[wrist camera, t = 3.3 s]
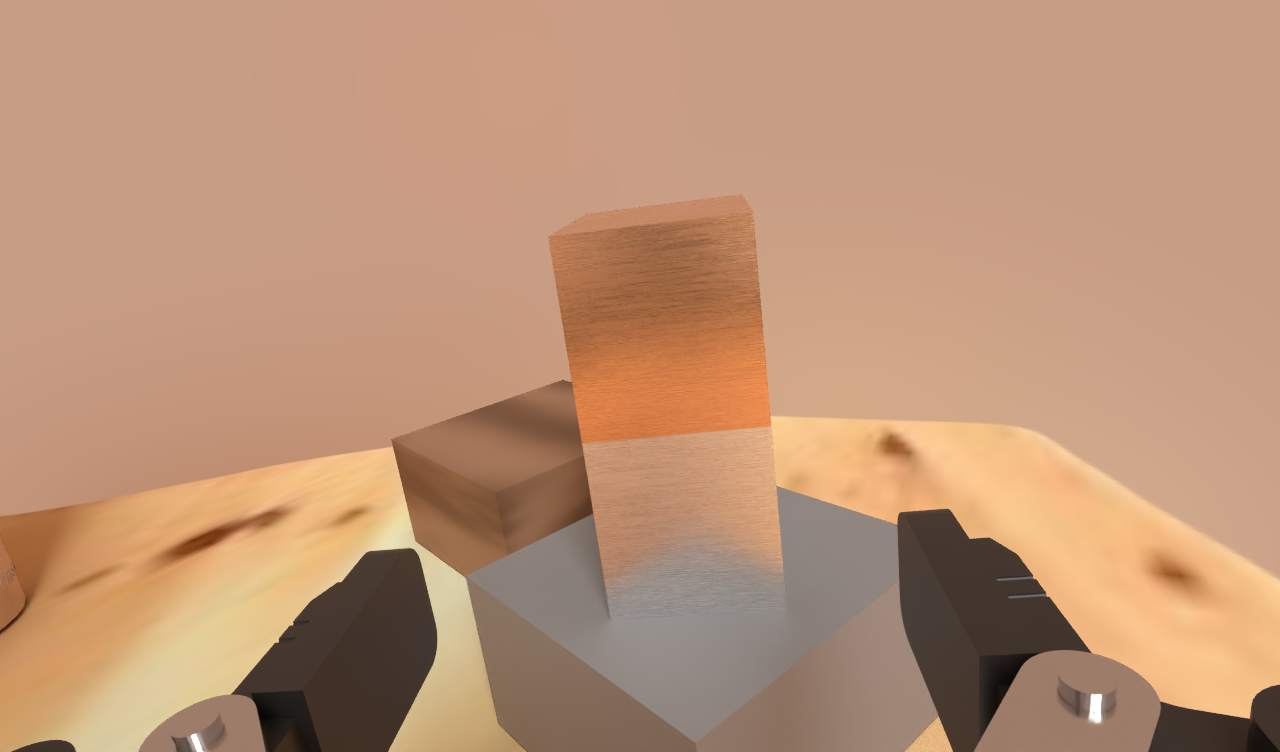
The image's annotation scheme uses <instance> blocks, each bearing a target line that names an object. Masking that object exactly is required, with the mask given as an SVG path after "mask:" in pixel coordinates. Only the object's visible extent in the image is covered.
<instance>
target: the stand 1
mask: <svg viewBox="0 0 1280 752" xmlns="http://www.w3.org/2000/svg"><path fill="white" fill-rule="evenodd" d="M392 443H393V448H394V453H395V457H396V461H397V465H398V469H399V473H400V478H401V482H402V486H403V490H404V494H405V498H406V503H407V507H408V511H409V515H410V519H411V523H412V528H413V532H414V536H415V540H416V541H417V542H418V543H419V544H421V545H422V546H423V547H425V548H426V549H428V550H429V551H430V552H432V553H433V554H434V555H436V556H437V557H439V558H440V559H441V560H443V561H444V562H445V563H447V564H448V565H449V566H451V567H452V568H454V569H455V570H456V571H458V572H459V573H460V574H462V575H463V576H465V577H466V575H469V574H471V573H473V572H475V571H477V570H479V569H481V568H483V567H485V566H487V565H489V564H491V563H493V562H495V561H497V560H499V559H501V558H503V557H505V556H507V555H509V554H512V553H514V552H516V551H518V550H520V549H522V548H524V547H526V546H528V545H530V544H532V543H534V542H536V541H538V540H540V539H542V538H544V537H546V536H548V535H550V534H553V533H555V532H557V531H559V530H561V529H563V528H565V527H567V526H569V525H571V524H573V523H575V522H577V521H579V520H581V519H583V518H585V517H587V516H589V515H591V514H593V508H592V502H591V496H590V490H589V483H588V477H587V471H586V465H585V459H584V453H583V447H582V440H581V434H580V428H579V422H578V416H577V410H576V403H575V397H574V391H573V385H572V382H568V381H564V380H562V381H558V382H556V383H553V384H550V385H547V386H544V387H541V388H538V389H535V390H532V391H530V392H527V393H524V394H521V395H518V396H515V397H512V398H509V399H506V400H504V401H501V402H498V403H495V404H492V405H489V406H486V407H483V408H480V409H478V410H475V411H472V412H469V413H466V414H463V415H460V416H457V417H454V418H451V419H449V420H446V421H443V422H440V423H437V424H434V425H431V426H428V427H425V428H423V429H420V430H417V431H414V432H411V433H408V434H406V435H403V436H400V437H397V438H394V439H392Z"/></svg>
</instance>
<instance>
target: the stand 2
mask: <svg viewBox="0 0 1280 752" xmlns="http://www.w3.org/2000/svg"><path fill="white" fill-rule="evenodd" d="M776 489H777V501H778V513H779V525H780V536H781V548H782V560H783V572H784V583H785V595H786V607H787V610H771V611H755V612H739V613H723V614H707V615H691V616H676V617H660V618H644V619H628V620H612V621H611V619H610V613H609V606H608V600H607V594H606V588H605V582H604V576H603V570H602V563H601V557H600V551H599V545H598V539H597V533H596V526H595V520H594V514H591V515H589V516H587V517H585V518H583V519H581V520H579V521H577V522H575V523H573V524H571V525H569V526H567V527H565V528H563V529H561V530H559V531H557V532H555V533H553V534H550V535H548V536H546V537H544V538H542V539H540V540H538V541H536V542H534V543H532V544H530V545H528V546H526V547H524V548H522V549H520V550H518V551H516V552H514V553H512V554H509V555H507V556H505V557H503V558H501V559H499V560H497V561H495V562H493V563H491V564H489V565H487V566H485V567H483V568H481V569H479V570H477V571H475V572H473V573H471V574H469V575H466V580H467V585H468V589H469V594H470V598H471V603H472V607H473V612H474V616H475V621H476V625H477V630H478V634H479V639H480V643H481V648H482V652H483V657H484V661H485V666H486V670H487V675H488V679H489V684H490V688H491V693H492V697H493V702H494V706H495V711H496V715H497V720H498V724H499V725H500V726H501V727H503V728H504V729H505V730H506V731H507V732H508V733H509V734H510V735H511V736H512V737H513V738H514V739H515V740H516V741H517V742H518V743H519V744H520V745H521V746H522V747H523V748H524V749H525V750H526V751H527V752H904V751H905V750H906V749H907V748H908V747H909V745H910V744H911V743H912V742H913V741H914V740H915V739H916V738H917V737H918V736H919V735H920V734H921V733H922V732H923V731H924V730H925V729H926V728H927V727H928V726H929V725H930V724H931V723H932V721H933V720H934V719H935V718H936V717H937V716H938V713H937V710H936V708H935V705H934V703H933V701H932V698H931V696H930V693H929V691H928V688H927V686H926V683H925V681H924V678H923V676H922V674H921V671H920V669H919V666H918V664H917V661H916V659H915V656H914V654H913V651H912V649H911V647H910V644H909V642H908V639H907V636H906V632H905V629H904V624H903V619H902V613H901V606H900V589H899V559H898V528H897V525H896V524H893V523H890V522H887V521H884V520H881V519H877V518H874V517H871V516H868V515H865V514H862V513H859V512H856V511H852V510H849V509H846V508H843V507H840V506H837V505H834V504H831V503H827V502H824V501H821V500H818V499H815V498H812V497H809V496H806V495H803V494H799V493H796V492H793V491H790V490H787V489H784V488H781V487H778V486H776Z"/></svg>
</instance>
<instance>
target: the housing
mask: <svg viewBox="0 0 1280 752" xmlns="http://www.w3.org/2000/svg"><path fill="white" fill-rule="evenodd" d="M549 243H550V250H551V256H552V261H553V268H554V274H555V280H556V287H557V292H558V299H559V305H560V311H561V316H562V323H563V330H564V336H565V342H566V348H567V354H568V360H569V366H570V373H571V379H572V385H573V391H574V397H575V403H576V410H577V416H578V422H579V428H580V434H581V440H582V447H583V453H584V459H585V465H586V471H587V477H588V483H589V490H590V496H591V502H592V508H593V514H594V520H595V526H596V533H597V539H598V545H599V551H600V557H601V563H602V570H603V576H604V582H605V588H606V594H607V600H608V606H609V613H610V619H611V621H612V620H628V619H644V618H660V617H676V616H691V615H707V614H723V613H739V612H755V611H771V610H787V607H786V595H785V583H784V572H783V560H782V548H781V536H780V525H779V513H778V501H777V489H776V477H775V466H774V454H773V442H772V430H771V419H770V407H769V395H768V383H767V372H766V360H765V349H764V336H763V325H762V313H761V301H760V289H759V277H758V265H757V254H756V243H755V230H754V219H753V211H752V209H751V208H750V206H749V205H748V204H747V202H746V201H745V199H744V198H743V196H742V195H734V196H726V197H718V198H711V199H703V200H694V201H687V202H678V203H670V204H663V205H655V206H647V207H639V208H631V209H623V210H615V211H608V212H600V213H591V214H585V215H583V216H582V217H580V218H578V219H577V220H575V221H573V222H572V223H570V224H568V225H567V226H565V227H563V228H562V229H560V230H559V231H557V232H555V233H554V234H552V235H550V236H549Z"/></svg>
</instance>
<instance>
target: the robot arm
mask: <svg viewBox="0 0 1280 752" xmlns="http://www.w3.org/2000/svg"><path fill="white" fill-rule="evenodd" d="M897 528H898V559H899V589H900V606H901V613H902V619H903V624H904V629H905V632H906V636H907V639H908V642H909V644H910V647H911V649H912V651H913V654H914V656H915V659H916V661H917V664H918V666H919V669H920V671H921V674H922V676H923V678H924V681H925V683H926V686H927V688H928V691H929V693H930V696H931V698H932V701H933V703H934V705H935V708H936V710H937V713H938V715H939V718H940V720H941V723H942V725H943V728H944V730H945V732H946V735H947V737H948V740H949V742H950V745H951V747H952V750H953V752H1280V685H1276V686H1271V687H1269V688H1266V689H1264V690H1262V691H1261V692H1259V693H1258V694H1257V695H1256V696H1255V698H1254V699H1253V702H1252V706H1251V714H1250V719H1247V718H1241V717H1235V716H1229V715H1223V714H1217V713H1211V712H1205V711H1199V710H1193V709H1187V708H1183V707H1178V706H1174V705H1170V704H1167V703H1163V702H1160V700H1159V697H1158V695H1157V693H1156V691H1155V690H1154V689H1153V687H1152V686H1151V685H1150V684H1149V683H1148V682H1147V681H1146V680H1145V679H1144V678H1143V677H1142V676H1140V675H1139V674H1138V673H1136V672H1135V671H1134V670H1132V669H1130V668H1128V667H1127V666H1125V665H1123V664H1121V663H1119V662H1117V661H1114V660H1112V659H1109V658H1106V657H1103V656H1100V655H1096V654H1093V653H1091V651H1090V650H1089V649H1088V648H1087V646H1086V645H1085V644H1084V642H1083V641H1082V640H1081V638H1080V637H1079V636H1078V634H1077V633H1076V632H1075V630H1074V629H1073V628H1072V626H1071V625H1070V624H1069V622H1068V621H1067V620H1066V618H1065V617H1064V616H1063V614H1062V613H1061V612H1060V610H1059V609H1058V608H1057V606H1056V605H1055V604H1054V602H1053V601H1052V600H1051V599H1050V597H1047V596H1046V592H1045V591H1044V589H1043V588H1042V587H1041V585H1040V584H1039V583H1038V581H1037V580H1036V579H1033V575H1032V573H1031V572H1030V571H1029V569H1028V568H1027V567H1026V565H1025V564H1024V563H1023V561H1022V560H1021V559H1020V557H1019V556H1018V555H1017V554H1016V553H1014V552H1012V551H1011V550H1009V549H1008V548H1006V547H1004V546H1003V545H1001V544H999V543H998V542H996V541H994V540H993V539H991V538H977V539H969V537H968V536H967V534H966V533H965V531H964V530H963V528H962V527H961V525H960V524H959V522H958V521H957V519H956V518H955V516H954V515H953V513H952V512H951V511H950V510H949V509H938V510H925V511H912V512H900V513H899V516H898V524H897ZM25 601H26V597H25V594H24V592H23V589H22V587H21V584H20V582H19V579H18V577H17V574H16V569H15V566H14V564H13V562H12V559H10V557H9V555H8V553H7V550H6V548H5V545H4V543H3V541H2V538H1V536H0V630H1V629H2V628H4V627H5V626H6V625H7V624H9V623H10V622H11V621H12V620H13V619H14V618H15V617H16V616H17V615H18V614H19V612H20V611H21V610H22V608H23V607H24V605H25ZM293 623H294V624H293V626H289V627H288V629H287V630H286V631H285V632H284V633H283V634H282V636H281V637H280V638H279V643H275V644H274V645H273V646H272V647H271V648H270V650H269V651H268V652H267V653H266V654H265V655H264V657H263V658H262V659H261V660H260V661H259V663H258V664H257V665H256V666H255V667H254V668H253V670H252V671H251V672H250V673H249V674H248V675H247V677H246V678H245V679H244V680H243V681H242V682H241V684H240V685H239V686H238V687H237V688H236V689H235V691H234V692H233V693H232V694H231V695H223V696H218V697H214V698H210V699H207V700H204V701H201V702H198V703H196V704H194V705H192V706H189V707H187V708H185V709H183V710H182V711H180V712H178V713H176V714H175V715H173V716H172V717H170V718H169V719H167V720H166V721H165V722H163V723H162V724H161V725H159V726H158V727H157V728H156V729H155V730H154V731H153V732H152V733H151V734H150V735H149V736H148V737H147V738H146V739H145V741H144V742H143V744H142V745H141V747H140V749H139V752H388V750H389V748H390V746H391V745H392V743H393V741H394V739H395V737H396V735H397V733H398V731H399V729H400V727H401V725H402V723H403V721H404V719H405V717H406V716H407V714H408V712H409V710H410V708H411V706H412V704H413V702H414V700H415V698H416V696H417V694H418V692H419V690H420V688H421V687H422V685H423V683H424V681H425V679H426V677H427V675H428V673H429V671H430V669H431V667H432V665H433V662H434V659H435V655H436V649H437V629H436V624H435V620H434V615H433V611H432V607H431V603H430V599H429V595H428V590H427V586H426V582H425V578H424V574H423V570H422V565H421V562H420V558H419V556H418V554H417V552H416V551H415V550H414V549H411V548H407V549H394V550H380V551H369V552H367V553H366V554H365V555H364V556H363V557H362V558H361V559H360V560H359V562H358V563H357V564H356V565H355V566H354V568H353V569H352V570H351V571H350V573H349V574H348V575H347V576H346V577H345V579H344V580H343V581H342V582H338V583H336V584H335V585H333V586H332V587H330V588H329V589H328V590H326V591H325V592H323V593H322V594H320V595H319V596H317V597H316V598H315V599H313V600H312V601H311V602H310V603H309V604H308V605H307V606H306V607H305V609H304V610H303V611H302V612H301V613H300V614H299V616H298V617H297V618H296V619H295V620H294V621H293ZM12 752H76V750H75V748H74V746H73V745H72V744H71V743H69V742H67V741H62V740H49V741H43V742H39V743H35V744H31V745H28V746H25V747H22V748H19V749H17V750H15V751H12Z"/></svg>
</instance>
